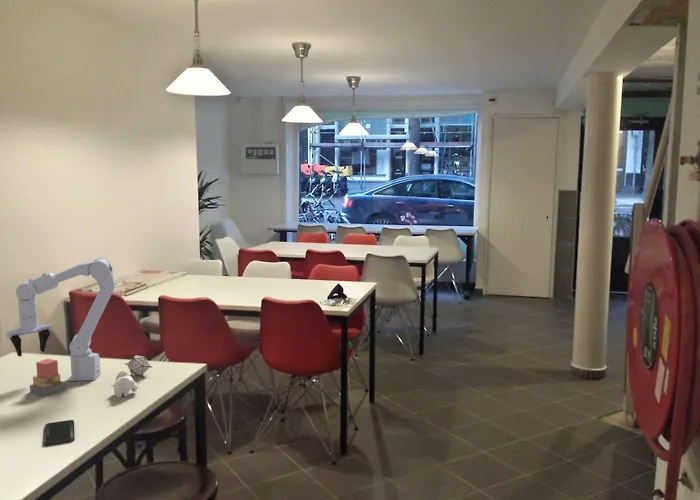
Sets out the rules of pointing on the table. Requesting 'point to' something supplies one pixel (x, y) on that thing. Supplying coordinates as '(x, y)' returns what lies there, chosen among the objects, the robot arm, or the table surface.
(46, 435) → the phone
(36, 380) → the oak tile
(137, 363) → the grey geodesic polyhedron
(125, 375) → the elephant figurine
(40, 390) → the charcoal base tile
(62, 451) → the table surface
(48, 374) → the red block
